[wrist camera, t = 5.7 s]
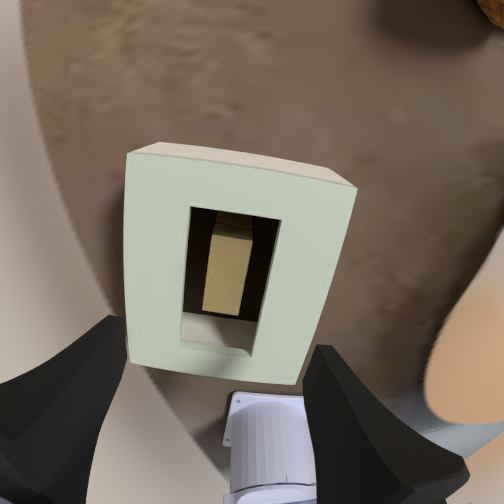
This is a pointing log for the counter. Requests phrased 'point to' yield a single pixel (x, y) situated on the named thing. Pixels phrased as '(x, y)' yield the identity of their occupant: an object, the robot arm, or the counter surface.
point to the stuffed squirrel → (493, 11)
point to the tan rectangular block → (228, 263)
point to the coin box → (280, 272)
